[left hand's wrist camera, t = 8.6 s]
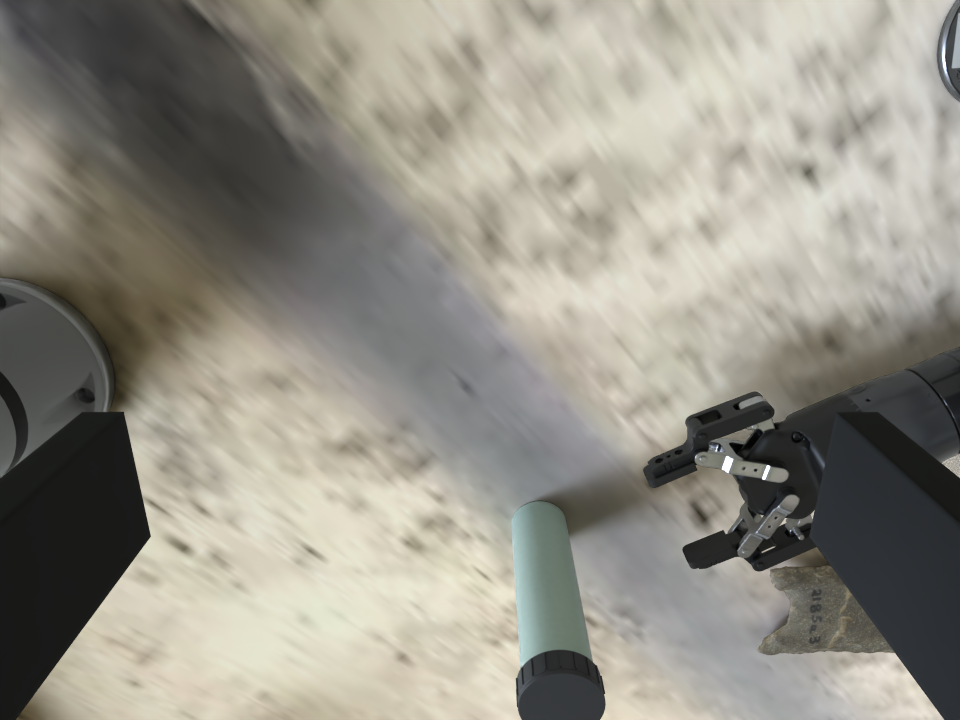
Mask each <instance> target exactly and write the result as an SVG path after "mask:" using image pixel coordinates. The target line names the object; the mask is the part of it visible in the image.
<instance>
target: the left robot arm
mask: <svg viewBox="0 0 960 720" xmlns="http://www.w3.org/2000/svg"><path fill="white" fill-rule="evenodd" d="M113 396H114V373H113V367H112V363H111V360H110V357H109V354H108V352H107V350H106V347H105V345H104V343H103V342H102V340H101V338H100V336H99V335H98V333H97V332H96V331H95V329H94V328H93V327H92V325H91V324H90V323H89V322H88V321H87V319H86V318H85V317H84V316H83V315H82V314H81V313H80V312H78V311H77V310H76V309H75V308H74V307H73V306H71V305H70V304H69V303H67V302H66V301H65V300H63V299H62V298H60V297H59V296H57V295H55V294H54V293H52V292H50V291H48V290H46V289H44V288H41V287H39V286H37V285H34V284H31V283H28V282H24V281H20V280H15V279H9V278H0V720H16V718H17V717H18V716H19V714H20V713H21V712H22V710H23V709H24V708H25V706H26V705H27V704H28V702H29V701H30V699H31V698H32V697H33V695H34V694H35V693H36V691H37V690H38V689H39V687H40V686H41V685H42V683H43V682H44V680H45V679H46V678H47V676H48V675H49V674H50V672H51V671H52V670H53V668H54V667H55V666H56V664H57V663H58V662H59V660H60V659H61V657H62V656H63V655H64V653H65V652H66V651H67V649H68V648H69V647H70V645H71V644H72V643H73V641H74V640H75V638H76V637H77V636H78V634H79V633H80V632H81V630H82V629H83V628H84V626H85V625H86V624H87V622H88V621H89V619H90V618H91V617H92V615H93V614H94V613H95V611H96V610H97V609H98V607H99V606H100V605H101V603H102V602H103V601H104V599H105V598H106V596H107V595H108V594H109V592H110V591H111V590H112V588H113V587H114V586H115V584H116V583H117V582H118V580H119V579H120V577H121V576H122V575H123V573H124V572H125V571H126V569H127V568H128V567H129V565H130V564H131V563H132V561H133V560H134V558H135V557H136V556H137V554H138V553H139V552H140V550H141V549H142V548H143V546H144V545H145V544H146V542H147V541H148V540H149V538H150V537H151V535H150V530H149V526H148V521H147V517H146V512H145V507H144V503H143V498H142V494H141V489H140V484H139V480H138V475H137V471H136V466H135V461H134V457H133V452H132V448H131V443H130V438H129V434H128V429H127V425H126V420H125V415H124V412H109V410H110V407H111V404H112V401H113ZM9 470H10V471H9ZM4 474H5V475H4ZM3 475H4V476H3ZM809 537H810V538H811V540H812V541H813V542H814V544H815V545H816V546H817V548H818V549H819V550H820V552H821V553H822V554H823V556H824V557H825V559H826V560H827V561H828V563H829V564H830V565H831V567H832V568H833V569H834V571H835V572H836V573H837V575H838V576H839V577H840V579H841V580H842V582H843V583H844V584H845V586H846V587H847V588H848V590H849V591H850V592H851V594H852V595H853V596H854V598H855V599H856V601H857V602H858V603H859V605H860V606H861V607H862V609H863V610H864V611H865V613H866V614H867V615H868V617H869V618H870V619H871V621H872V622H873V624H874V625H875V626H876V628H877V629H878V630H879V632H880V633H881V634H882V636H883V637H884V638H885V640H886V641H887V643H888V644H889V645H890V647H891V648H892V649H893V651H894V652H895V653H896V655H897V656H898V657H899V659H900V660H901V662H902V663H903V664H904V666H905V667H906V668H907V670H908V671H909V672H910V674H911V675H912V676H913V678H914V679H915V680H916V682H917V683H918V685H919V686H920V687H921V689H922V690H923V691H924V693H925V694H926V695H927V697H928V698H929V699H930V701H931V702H932V704H933V705H934V706H935V708H936V709H937V710H938V712H939V713H940V714H941V716H942V717H943V718H944V720H960V478H959V477H958V476H956V475H955V474H954V473H953V472H951V471H950V470H949V469H948V468H947V467H945V466H944V465H943V464H942V463H940V462H939V461H938V460H937V459H935V458H934V457H933V456H932V455H930V454H929V453H928V452H927V451H926V450H924V449H923V448H922V447H921V446H919V445H918V444H917V443H916V442H914V441H913V440H912V439H911V438H909V437H908V436H907V435H906V434H905V433H903V432H902V431H901V430H900V429H898V428H897V427H896V426H895V425H893V424H892V423H891V422H890V421H888V420H887V419H886V418H885V417H883V416H882V415H881V414H880V413H879V412H836V415H835V420H834V425H833V429H832V434H831V438H830V443H829V448H828V452H827V457H826V461H825V466H824V471H823V475H822V480H821V484H820V489H819V494H818V498H817V503H816V507H815V512H814V517H813V521H812V526H811V530H810V535H809Z"/></svg>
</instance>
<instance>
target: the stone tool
mask: <svg viewBox="0 0 960 720" xmlns="http://www.w3.org/2000/svg"><path fill="white" fill-rule="evenodd" d="M770 571H771V573H770V576H771V579H772V583H773V584H774V585H775V587H776V588H777V589H778V590H780V591H784V592H785V593H786V595H787V596H788V598H789V600H790V608H789V617H788V619H787V621H788V622H787V624H786V625H784V626H782V627H780V628H779V629H778V630H777V631H775V632H774V633H772V634H771V635H769V636H767V637H765V638H764V640H763V643H762V644H761V645H760V646H759V647H758V649H757V650H758V651H759V652H760V653H763V654H766V655H775V654H779V653H791V654H802V653H814V652H818V651H824V652H825V651H835V652H842V651H848V652H853V653H860V652H865V653H874V652H890V653H895V652H894V651H893V649H892V648H891V647H890V645H889V644H888V643H887V641H886V640H885V638H884V637H883V636H882V634H881V633H880V632H879V630H878V629H877V628H876V626H875V625H874V624H873V622H872V621H871V619H870V618H869V617H868V615H867V614H866V613H865V611H864V610H863V609H862V607H861V606H860V605H859V603H858V602H857V601H856V599H855V598H854V596H853V595H852V594H851V592H850V591H849V590H848V588H847V587H846V586H845V584H844V583H843V582H842V580H841V579H840V577H839V576H838V575H837V573H836V572H835V571H834V569H833V568H832V567H831V566H829V565H824V566H821V567H816V568H815V567H787V566H785V567H783V568H776V569H771V570H770Z"/></svg>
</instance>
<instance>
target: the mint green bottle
mask: <svg viewBox="0 0 960 720" xmlns="http://www.w3.org/2000/svg"><path fill="white" fill-rule="evenodd" d="M512 541H513V557H514V573H515V588H516V604H517V620H518V636H519V652H520V668H521V667H522V666H523V665H524V664H525V663H526V662H527V661H528V660H529V659H531V658H532V657H534V656H536V655H538V654H540V653H543V652H546V651H551V650H570V651H574V652H577V653H580V654H582V655H584V656H586V657H588V658H589V659H590V660H591V661H592V655H591V650H590V645H589V639H588V634H587V629H586V624H585V618H584V613H583V608H582V603H581V597H580V592H579V587H578V581H577V576H576V571H575V566H574V560H573V555H572V550H571V545H570V539H569V534H568V529H567V524H566V519H565V516H564V514H563V512H562V511H561V510H560V509H559V508H558V507H557V506H555V505H553V504H551V503H548V502H543V501H536V502H531V503H528V504H526V505H524V506H522V507H521V508H520V509H518V510H517V512H516V513H515V515H514V516H513V519H512ZM592 662H593V661H592Z"/></svg>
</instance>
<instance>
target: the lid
mask: <svg viewBox="0 0 960 720" xmlns="http://www.w3.org/2000/svg"><path fill="white" fill-rule="evenodd" d="M604 694H605V691H604V686H603V681H602V676H600V673H599V670H598V668H597V665H595V664H594V663H593V662H592V661H591V660H590V659H589V658H588V657H586V656H584V655H582V654H580V653H577V652H574V651H570V650H551V651H546V652H543V653H540V654H538V655H536V656H534V657H532V658H531V659H529V660H528V661H527V662H526V663H525V664H524V665H523V666H522V667H521V669H520V671H519V674H518V677H517V678H516V695H517V707H518V711H519V715H520V717H521V719H522V720H600V719H601V717H602V715H603V713H604V710H605V697H604Z"/></svg>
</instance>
